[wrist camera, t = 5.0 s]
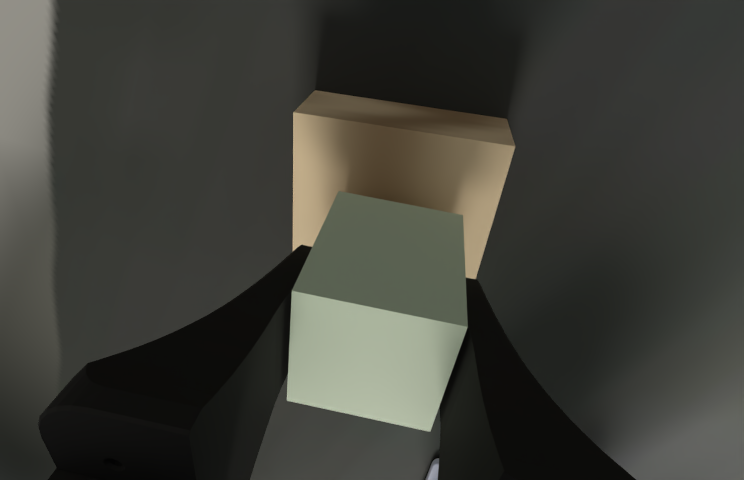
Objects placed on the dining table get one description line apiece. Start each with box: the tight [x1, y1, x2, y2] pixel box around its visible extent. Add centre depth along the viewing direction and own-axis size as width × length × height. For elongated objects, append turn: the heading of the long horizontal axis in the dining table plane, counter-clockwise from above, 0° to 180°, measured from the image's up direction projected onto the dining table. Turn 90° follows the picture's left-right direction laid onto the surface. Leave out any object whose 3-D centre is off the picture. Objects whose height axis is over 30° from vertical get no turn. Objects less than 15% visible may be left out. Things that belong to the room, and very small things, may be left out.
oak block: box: [293, 90, 515, 279], centre depth 17 cm, size 7×7×3 cm
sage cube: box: [287, 191, 468, 432], centre depth 13 cm, size 4×4×5 cm
